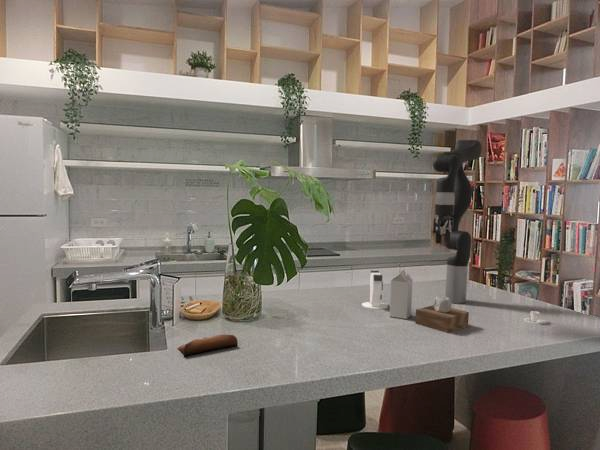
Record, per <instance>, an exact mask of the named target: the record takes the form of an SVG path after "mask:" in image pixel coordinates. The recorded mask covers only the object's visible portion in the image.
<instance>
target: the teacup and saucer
mask: <svg viewBox="0 0 600 450" xmlns="http://www.w3.org/2000/svg"><path fill="white" fill-rule="evenodd" d="M529 314H530V317H526V318H524V319H523V320H524V322H528V323H530V324H531V323H532V324H534V325H535V324H536V325H544V324H545V325H546V324H547V323H548V321H547V320H546V319H540V311H536V310H532V311H530V312H529ZM530 320H531V321H530Z"/></svg>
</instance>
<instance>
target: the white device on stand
mask: <svg viewBox="0 0 600 450" xmlns="http://www.w3.org/2000/svg"><path fill="white" fill-rule="evenodd" d="M383 284H384V283H383V274H382V273H380V271H379V270H370V277H369V301H366V302H362V303H361V307H363V308H365V309H369V310H370V309H371V310H385V309H387V308H388V307H389V305H388V304H386V303H384V302H381V301H382V299H383V298H382V297H383V296H382V291H383V290H384V285H383Z"/></svg>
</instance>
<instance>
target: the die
mask: <svg viewBox="0 0 600 450" xmlns="http://www.w3.org/2000/svg"><path fill="white" fill-rule="evenodd" d="M452 304H453V303H451V300H450V299H449V298H447V297H445V296H436V297H435V298H434V299H433V305H434V309H435V310H436V311H437V312H443V313H446V312H449V311H450V310H451V308H453V306H452Z"/></svg>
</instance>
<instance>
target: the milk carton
mask: <svg viewBox="0 0 600 450" xmlns="http://www.w3.org/2000/svg"><path fill="white" fill-rule="evenodd" d="M412 296H413V278H411V275H410V274H409V273H408V272H406V268H405V269H404V268H403V269H401V270H400V271H399V274H397V276H395V277H394V278H392V279H391V280H390V297H389V298H390V299H389V317H393V318H397V319H404V320H408V319H409V317H411V316H412V302H413V301H412V300H413V297H412Z"/></svg>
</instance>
